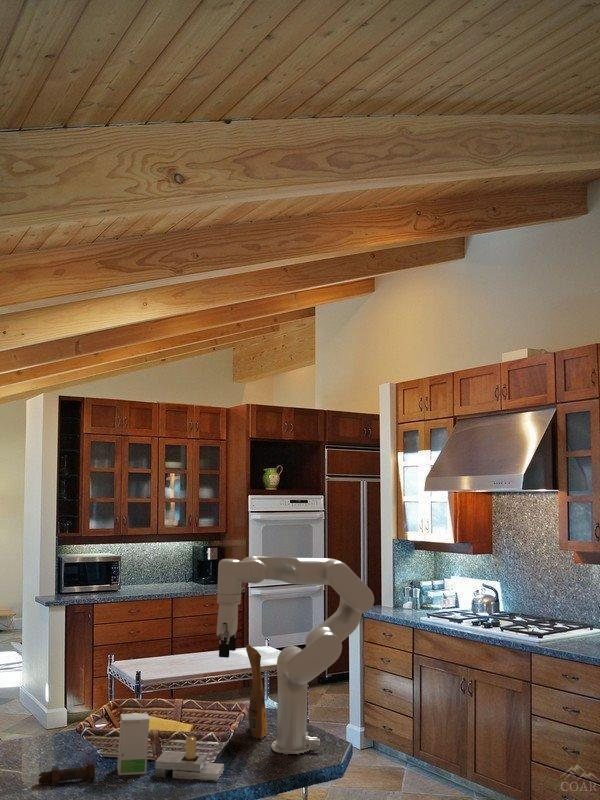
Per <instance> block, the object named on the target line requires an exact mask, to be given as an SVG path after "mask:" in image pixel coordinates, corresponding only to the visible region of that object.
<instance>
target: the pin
mask: <svg viewBox="0 0 600 800" xmlns="http://www.w3.org/2000/svg"><path fill="white" fill-rule="evenodd" d="M196 752H197V737H196V736H187V737H186V738H185V752H184V753H185V761H193V762H196V754H197V753H196Z"/></svg>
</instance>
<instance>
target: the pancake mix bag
mask: <svg viewBox="0 0 600 800" xmlns="http://www.w3.org/2000/svg"><path fill="white" fill-rule="evenodd" d="M245 648H246V649H245V652H246V654H247V657H248V660H249V664H250V667H251V674H252V675H251V676H252V677H251V678H252V685H251V691H250V696H249V697H250V698H249V705H248V724H249V729H250V730H249V731H250V733H251V735H252V736H253V737H252V736H251V737H252V738H254V737H256V738H255V739H258V738H260V739H259V740H262V739H263V738H265V737H264V736H266V737H267V732H268V721H267V719H268V718H267V709H266V700H265V691H264V687H263V686H264V685H263V681H262V672H261V667H262V666H261V662H262V661H261V659H262V655H261V654H260V653H259V651H258V650H257V649H256V648H254V647H253V646H252V645H250V643H248V644H247V645H245ZM262 737H263V738H262Z"/></svg>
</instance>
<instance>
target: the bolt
mask: <svg viewBox="0 0 600 800" xmlns="http://www.w3.org/2000/svg"><path fill="white" fill-rule="evenodd" d="M95 764H96V763H95V761H94V760H88V762H87V765H82V766H78V767H72V768H71V767H70V768H65V769H60V767H59V766H53V767H52V768H51V770H48V771H41V772H40V773H39V774H38V777H39V778H37V779H38V780H37V781H38V785H44V784H51V785H52V786H53V785H55V786H59V784H60V783H61V782H66V781H67V782H68V781H76V780H88V783H94V782H95V777H96V767H95V766H96V765H95Z"/></svg>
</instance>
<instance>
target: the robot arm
mask: <svg viewBox="0 0 600 800" xmlns="http://www.w3.org/2000/svg"><path fill="white" fill-rule="evenodd" d="M217 570H218V571H217V594H216V595H217V597H216V598H217V599H216V604H218V605H219V606H218V610H217V611H218V612H217V621H216V623H217V624H216V636H217V637H219V644H218V657H219V658H227V659H228V658H230V651H233V652H234V651H236V649H237V648H236V647H237V646H236V645H237V631H238V625H239V624H238V622H239V617H238V616H239V607H238V606H239V605H240V604H242V583H247V584H259V583H262V582H263V581H264V580H271V581H272V580H273V581H279V582H283V583H287V584H290V585H319V586H321V585H322V586H323V585H325V586H326V585H327V586H331V588H332V589H333V590H334V591H335V592H336V593H337V594H338V596H339V606H338V607H337V610H336V611H335V612H334V613H333V614H332V615H331V616H330V617H328V618H327V619H326V620H324V621H323V622H322V623H321V624H319V625H317V626H316V627H315V628H314V629H312V630H310V631H309V633H307V636H306V637H305V647H304V648H301V647H298V646H294V645H289V646H286V647H284V648H282V650H281V651H280V652H279V653H278V656H277V659H276V675H277V706H276V707H277V709H276V738H275V739H276V740H273V742H272V743H271V750H272V751H274V752H276V753H278V754H281V753H283V754H282V755H288V754H297V755H300V754H299V753H303V754H305V753H304V752H306V753H308V752H309V750H310V751H311V749H310V748H311V747H312V746H318V747H319V746H320V743H321V740H320V739H321V738H318V737H317V736H313V737H312V736H310V735H309V732H308V731H307V718H308V717H307V714H308V713H307V712H308V709H307V708H308V683H310V682H311V681H313V680H314V679H315V678H316V677H318V676H320V674H322V673H323V672H324V671H326V670H327V669H328V668H329V667H331V666H332V665H333V664H335V663H336V661H337V660H338V659H339V658H340V656H341V654H342V651H343V644H342V642H343V641H345V640H346V639H347V638H348V637H350V635H352V633H354V632H355V631H356V630H357V628H358V626H359V624H360V622H361V619H362V614H363V613H367V612H369V611H370V610H371V609H372V608H373V607H374V602H375V595H374V593H373V591H372V590H371V588H369V587H368V585H367V584H366V583H365V582H363V580H362V579H361V578H360V577H359V576H358V575H357V574H356V573H355V572H354V571H353V569H352V568H350V567H349V566H348V565H347V564H346V563H345V562H342V561H341V560H338V559H335V558H330V557H329V558H328V557H327V558H325V557H324V558H323V557H321V558H320V557H288V556H287V557H284V556H283V557H282V556H281V557H280V556H278V557H277V556H258V555H257V556H256V555H255V556H254V555H253V556H247V557H244V558H243V559H242V560H239V559H238V558H237V559H236V558H223V559H220V560H219V562H218V567H217ZM307 751H308V752H307Z"/></svg>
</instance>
